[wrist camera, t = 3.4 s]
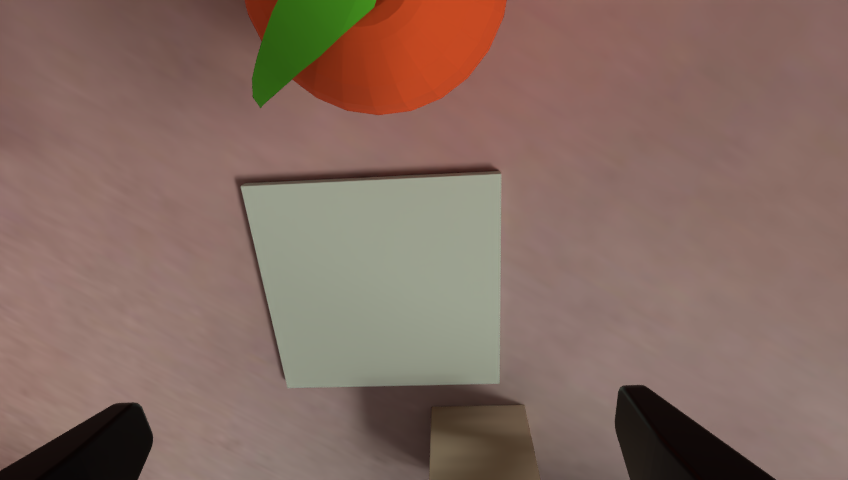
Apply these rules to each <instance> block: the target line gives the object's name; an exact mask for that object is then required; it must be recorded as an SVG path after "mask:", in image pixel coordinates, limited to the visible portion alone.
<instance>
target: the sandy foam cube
mask: <svg viewBox="0 0 848 480" xmlns="http://www.w3.org/2000/svg"><path fill="white" fill-rule="evenodd" d="M429 480H540V475H539V471H538V466H537V461H536V457H535V452H534V448H533V443H532V438H531V434H530V429H529V425H528V420H527V415H526V411H525V406H524V405H497V406H443V407H432V409H431V441H430V473H429Z"/></svg>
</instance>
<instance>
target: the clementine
mask: <svg viewBox="0 0 848 480" xmlns="http://www.w3.org/2000/svg"><path fill="white" fill-rule="evenodd" d="M506 1H507V0H245V4H246V8H247V12H248V15H249V17H250V19H251V21H252V23H253V25H254V27H255V29H256V31H257V33H258V35H259V37H260V39H261V41H262V43H261V46H260V49H259V53H258V56H257V60H256V64H255V68H254V73H253V77H252V89H253V98H254V99H255V101H256V102H257V104H258V105H259V107H260V108H261V107H262V106H263V105H264V104H265V103H266V102H267V101H268V100H269V99H270V98H271V97H273V96H274V95H275V94H276V93H277V92H278V91H279V90H281V89H282V88H283V87H284V86H285V85H286V84H287V83H289V82H290V81H291V80H294V81H295V82H296V83H298V84H299V85H300V86H302V87H303V88H304V89H306V90H307V91H308V92H310V93H311V94H312V95H314V96H315V97H316V98H318V99H321V100H323V101H325V102H328V103H330V104H333V105H335V106H337V107H340V108H342V109H344V110H347V111H353V112H360V113H368V114H375V115H383V114H391V113H398V112H406V111H412V110H415V109H417V108H419V107H422V106H424V105H426V104H429V103H431V102H434V101H436V100H438V99H441V98H443V97H444V96H445V95H446V94H448V93H449V92H450V91H452V90H453V89H454V88H455V87H457V86H458V85H459V84H461V83H462V82H463V81H464V80H466V79H467V78H468V77H469V76H470V74H471V73H472V72H473V70H474V69H475V68H476V66H477V65H478V64H479V63H480V61H481V60H482V59H483V57H484V56H485V55H486V53H487V52H488V51H489V49H490V47H491V44H492V42H493V40H494V38H495V35H496V33H497V31H498V28H499V26H500V24H501V22H502V19H503V17H504V12H505V7H506Z"/></svg>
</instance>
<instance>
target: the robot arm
mask: <svg viewBox="0 0 848 480" xmlns="http://www.w3.org/2000/svg"><path fill="white" fill-rule="evenodd" d="M615 429H616V434H617V437H618V441H619V444H620V447H621V451H622V454H623V457H624V460H625V464H626V467H627V470H628V474H629V477H630V480H776V479H775V478H773V477H772V476H770V475H769V474H768V473H766V472H765V471H763V470H762V469H761V468H759V467H758V466H756V465H755V464H754V463H752V462H751V461H749V460H748V459H747V458H745V457H744V456H742V455H741V454H740V453H738V452H737V451H735V450H734V449H733V448H731V447H730V446H728V445H727V444H726V443H724V442H723V441H722V440H720V439H719V438H717V437H716V436H715V435H713V434H712V433H710V432H709V431H708V430H706V429H705V428H703V427H702V426H701V425H699V424H698V423H696V422H695V421H694V420H692V419H691V418H689V417H688V416H687V415H685V414H684V413H682V412H681V411H680V410H678V409H677V408H675V407H674V406H673V405H671V404H670V403H669V402H667V401H666V400H664V399H663V398H662V397H660V396H659V395H657V394H656V393H655V392H653V391H652V390H650V389H649V388H647V387H646V386H643V385H624V386H622V387H620V389H619V391H618V398H617V406H616V415H615ZM152 443H153V434H152V431H151V428H150V426H149V423H148V421H147V418H146V416H145V413H144V411H143V408H142V407H141V406H140V405H139V404H138V403H134V402H132V403H116V404H113V405H111V406H110V407H108V408H106V409H105V410H103V411H101V412H99V413H98V414H96V415H94V416H93V417H91V418H89V419H88V420H86V421H84V422H82V423H81V424H79V425H77V426H76V427H74V428H72V429H71V430H69V431H67V432H65V433H64V434H62V435H60V436H59V437H57V438H55V439H54V440H52V441H50V442H48V443H47V444H45V445H43V446H42V447H40V448H38V449H37V450H35V451H33V452H31V453H30V454H28V455H26V456H25V457H23V458H21V459H20V460H18V461H16V462H14V463H13V464H11V465H9V466H8V467H6V468H4V469H3V470H1V471H0V480H138V478H139V476H140V473H141V471H142V469H143V466H144V464H145V462H146V459H147V457H148V455H149V452H150V450H151V447H152Z"/></svg>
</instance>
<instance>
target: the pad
mask: <svg viewBox="0 0 848 480" xmlns="http://www.w3.org/2000/svg"><path fill="white" fill-rule="evenodd" d="M241 190H242V194H243V199H244V203H245V207H246V212H247V216H248V220H249V224H250V229H251V233H252V237H253V242H254V246H255V250H256V255H257V259H258V263H259V267H260V272H261V276H262V280H263V285H264V289H265V293H266V298H267V302H268V306H269V310H270V315H271V319H272V323H273V328H274V332H275V336H276V340H277V345H278V349H279V353H280V358H281V362H282V366H283V371H284V375H285V379H286V383H287V388H315V387H364V386H413V385H462V384H500V265H501V172H500V171H489V172H469V173H448V174H427V175H406V176H386V177H365V178H344V179H323V180H303V181H282V182H261V183H244V184H243V185H242V186H241Z"/></svg>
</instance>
